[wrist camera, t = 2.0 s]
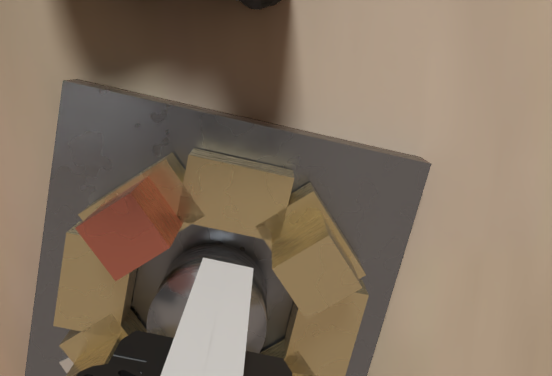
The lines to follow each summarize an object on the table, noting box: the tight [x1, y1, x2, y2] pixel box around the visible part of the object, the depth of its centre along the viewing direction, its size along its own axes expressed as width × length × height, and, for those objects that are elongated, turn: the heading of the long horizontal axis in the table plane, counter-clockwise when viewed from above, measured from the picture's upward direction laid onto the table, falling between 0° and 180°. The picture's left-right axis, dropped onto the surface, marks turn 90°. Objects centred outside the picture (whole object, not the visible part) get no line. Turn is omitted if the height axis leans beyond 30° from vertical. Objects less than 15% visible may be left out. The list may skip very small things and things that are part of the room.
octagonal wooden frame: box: [53, 148, 369, 376], centre depth 27 cm, size 16×16×6 cm
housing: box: [25, 79, 431, 376], centre depth 29 cm, size 20×20×6 cm
